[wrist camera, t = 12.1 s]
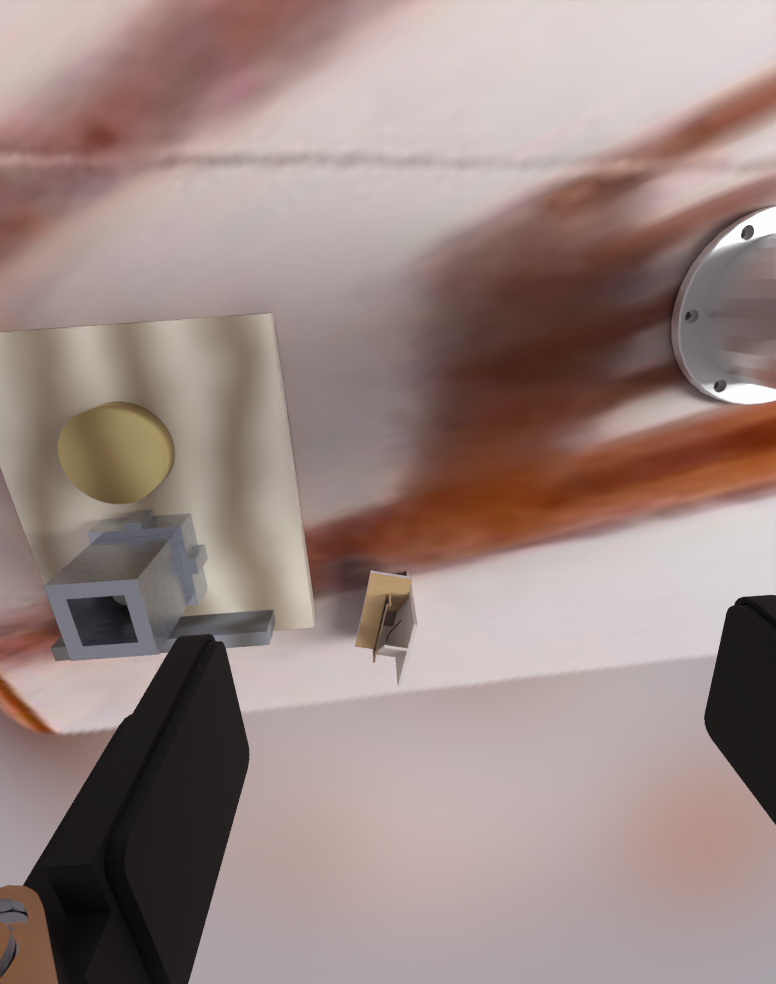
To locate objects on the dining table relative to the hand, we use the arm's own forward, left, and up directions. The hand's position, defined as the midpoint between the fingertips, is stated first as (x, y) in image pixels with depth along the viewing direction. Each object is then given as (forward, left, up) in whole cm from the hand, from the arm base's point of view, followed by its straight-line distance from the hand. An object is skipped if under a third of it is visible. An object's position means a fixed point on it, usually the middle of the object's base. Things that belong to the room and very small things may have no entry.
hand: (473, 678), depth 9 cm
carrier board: (+18, +6, -28) cm, 34 cm away
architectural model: (+2, +17, -29) cm, 33 cm away
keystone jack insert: (+19, +10, -26) cm, 34 cm away
